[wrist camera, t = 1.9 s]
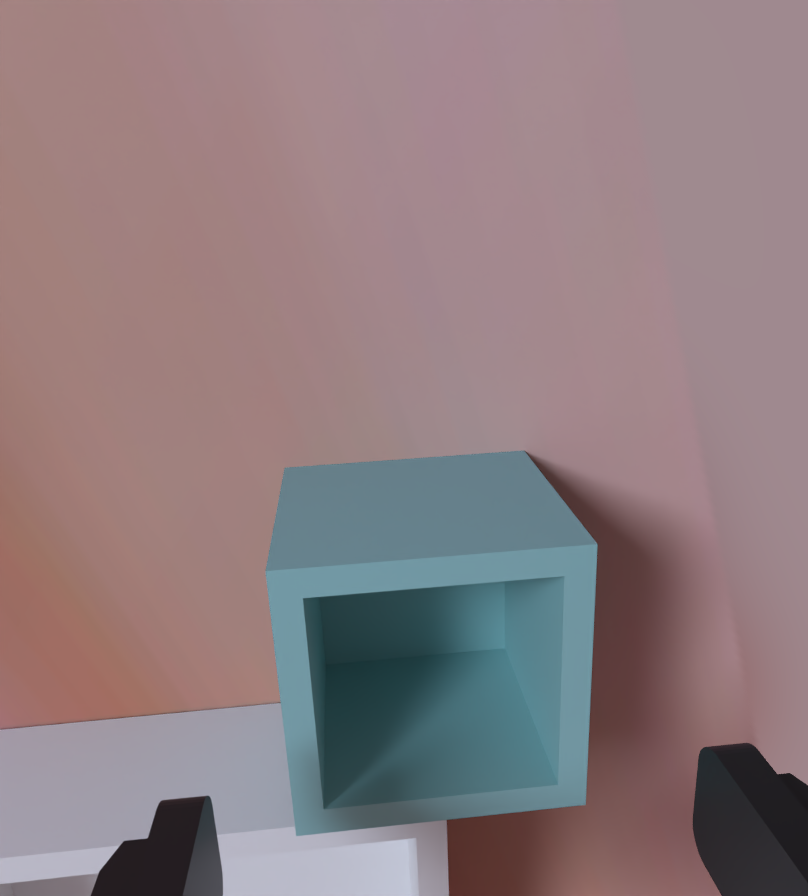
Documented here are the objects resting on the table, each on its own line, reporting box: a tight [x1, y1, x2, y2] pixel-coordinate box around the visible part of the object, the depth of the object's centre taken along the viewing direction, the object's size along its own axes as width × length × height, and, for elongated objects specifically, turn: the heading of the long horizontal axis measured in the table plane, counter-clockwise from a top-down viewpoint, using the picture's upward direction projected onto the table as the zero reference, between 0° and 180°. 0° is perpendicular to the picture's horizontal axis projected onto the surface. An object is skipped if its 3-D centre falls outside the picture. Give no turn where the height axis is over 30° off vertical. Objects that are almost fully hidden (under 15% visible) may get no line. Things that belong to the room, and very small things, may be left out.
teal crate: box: [266, 451, 598, 836], centre depth 17 cm, size 6×6×6 cm
